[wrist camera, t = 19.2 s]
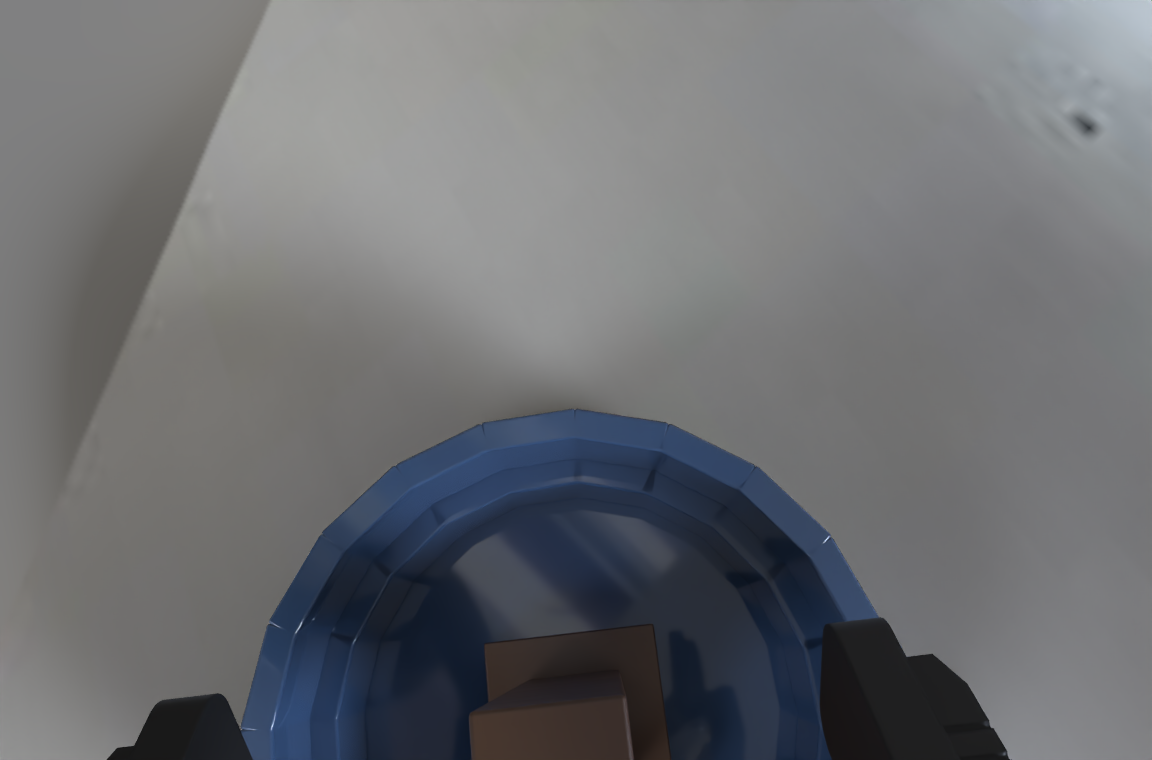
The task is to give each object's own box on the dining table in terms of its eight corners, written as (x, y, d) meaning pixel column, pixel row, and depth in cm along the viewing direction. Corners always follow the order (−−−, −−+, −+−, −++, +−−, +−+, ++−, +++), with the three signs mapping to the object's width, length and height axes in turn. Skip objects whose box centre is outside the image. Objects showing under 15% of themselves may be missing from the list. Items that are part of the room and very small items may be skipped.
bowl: (448, 1130, 22) (394, 1301, 17) (251, 592, 27) (153, 581, 21) (946, 845, 24) (1052, 911, 18) (683, 379, 28) (702, 313, 23)
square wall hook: (506, 816, 24) (412, 983, 13) (492, 642, 25) (396, 649, 14) (673, 797, 24) (731, 946, 13) (650, 624, 25) (683, 615, 14)
